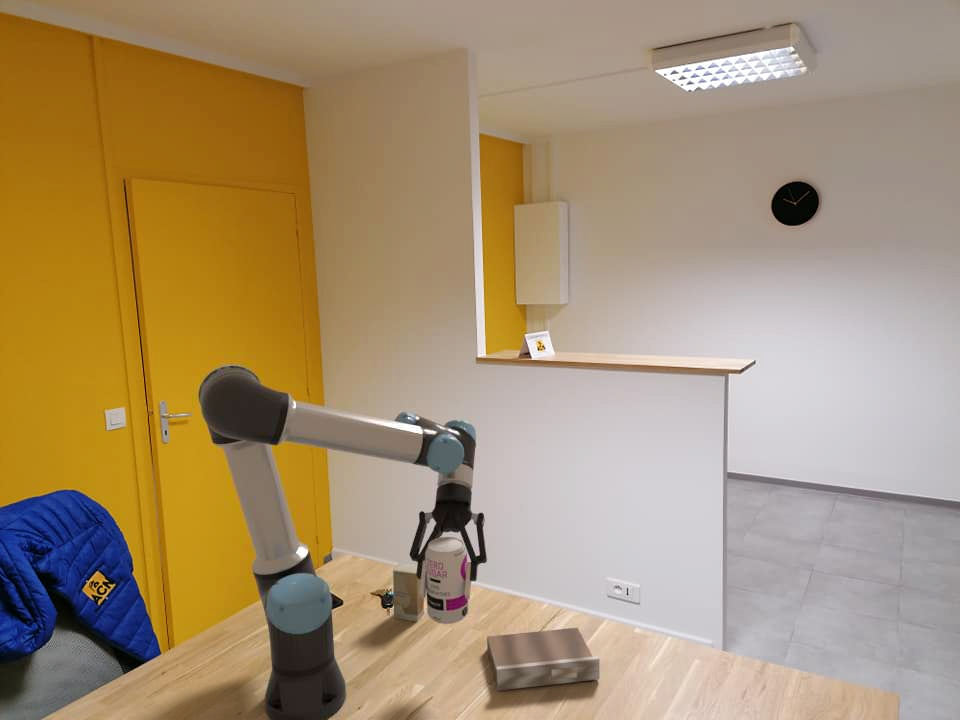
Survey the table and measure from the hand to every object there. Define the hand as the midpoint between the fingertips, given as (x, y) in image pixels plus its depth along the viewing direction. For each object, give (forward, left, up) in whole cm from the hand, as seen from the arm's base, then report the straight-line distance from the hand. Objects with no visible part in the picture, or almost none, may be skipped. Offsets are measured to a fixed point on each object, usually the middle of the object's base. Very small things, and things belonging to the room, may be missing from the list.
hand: (444, 596), depth 136 cm
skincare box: (-6, +27, -19) cm, 34 cm away
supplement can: (+1, +3, -6) cm, 7 cm away
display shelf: (+20, +3, -18) cm, 27 cm away
